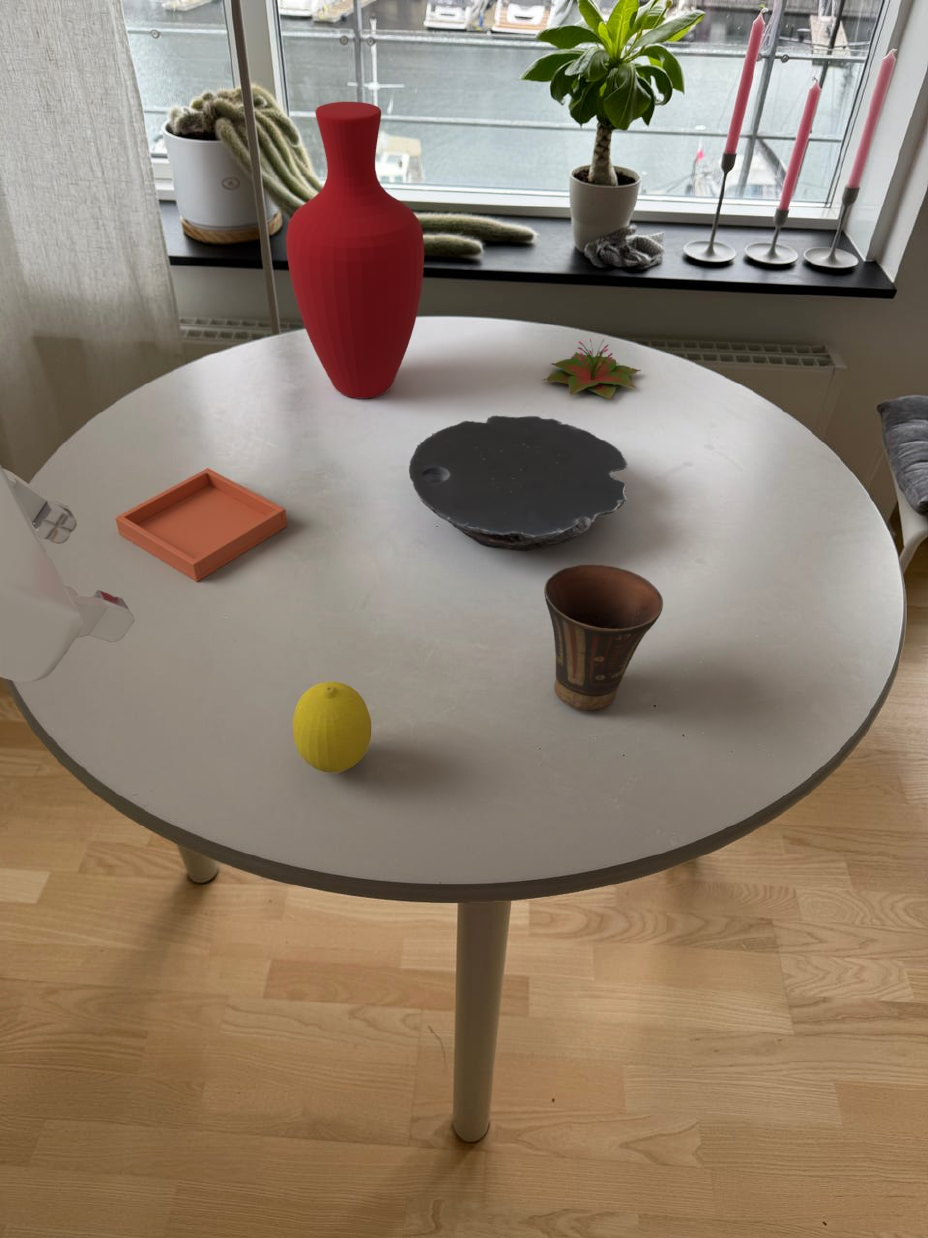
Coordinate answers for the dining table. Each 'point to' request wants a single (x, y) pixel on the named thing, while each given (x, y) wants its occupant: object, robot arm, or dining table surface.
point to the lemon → (331, 727)
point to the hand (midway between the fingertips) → (94, 572)
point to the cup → (597, 629)
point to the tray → (201, 523)
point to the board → (518, 480)
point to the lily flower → (592, 373)
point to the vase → (356, 259)
